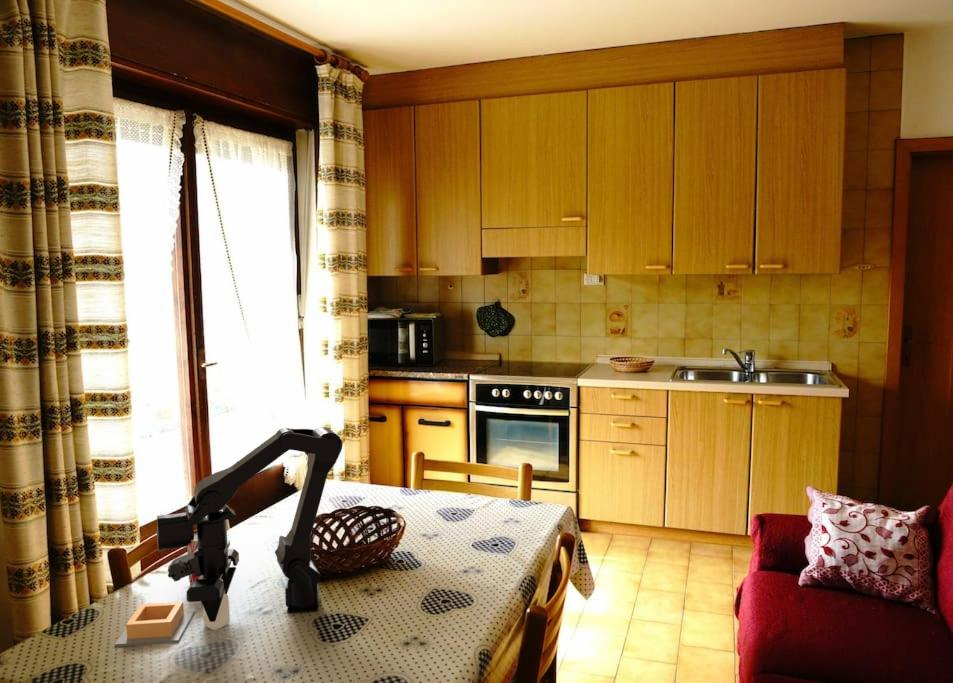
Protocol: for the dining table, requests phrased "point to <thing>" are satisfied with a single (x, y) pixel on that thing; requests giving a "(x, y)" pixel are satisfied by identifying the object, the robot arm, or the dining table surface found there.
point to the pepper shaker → (219, 615)
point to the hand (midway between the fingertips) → (216, 613)
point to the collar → (156, 624)
